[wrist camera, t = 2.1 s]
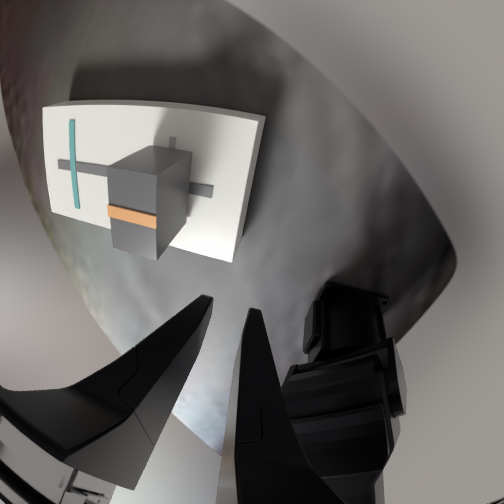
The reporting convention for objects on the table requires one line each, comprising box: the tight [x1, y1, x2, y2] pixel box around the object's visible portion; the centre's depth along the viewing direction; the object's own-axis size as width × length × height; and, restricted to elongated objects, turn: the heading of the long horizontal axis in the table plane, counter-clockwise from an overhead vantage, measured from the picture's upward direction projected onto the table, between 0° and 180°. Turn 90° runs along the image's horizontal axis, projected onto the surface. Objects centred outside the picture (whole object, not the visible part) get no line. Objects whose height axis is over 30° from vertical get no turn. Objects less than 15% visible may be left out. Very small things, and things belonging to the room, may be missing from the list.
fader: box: [107, 145, 193, 261], centre depth 15 cm, size 3×5×5 cm, turn 170°
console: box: [43, 100, 266, 262], centre depth 19 cm, size 18×10×3 cm, turn 80°
